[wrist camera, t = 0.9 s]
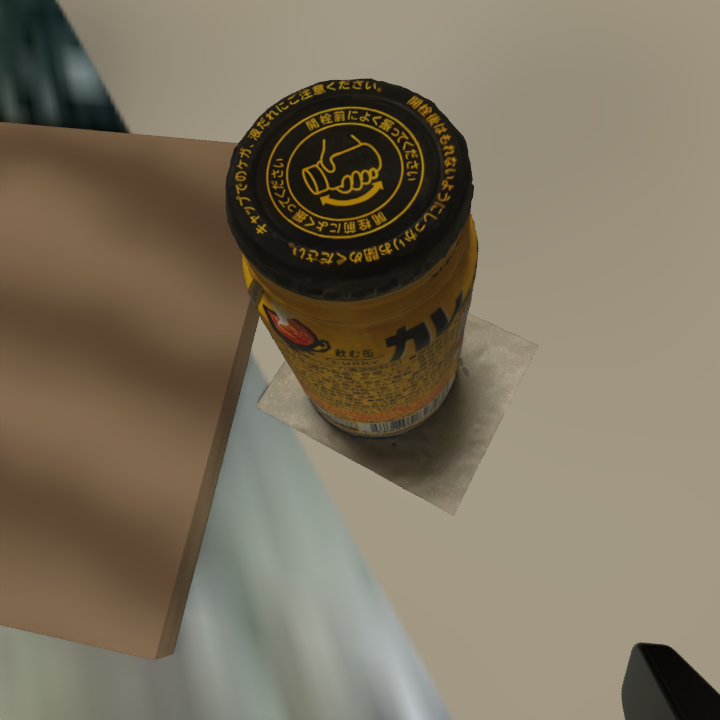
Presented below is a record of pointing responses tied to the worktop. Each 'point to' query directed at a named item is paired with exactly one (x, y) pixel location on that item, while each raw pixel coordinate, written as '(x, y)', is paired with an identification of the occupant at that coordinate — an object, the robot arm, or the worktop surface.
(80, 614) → the walnut board
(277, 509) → the worktop surface
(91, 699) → the worktop surface
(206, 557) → the worktop surface
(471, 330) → the yellow black cylinder
